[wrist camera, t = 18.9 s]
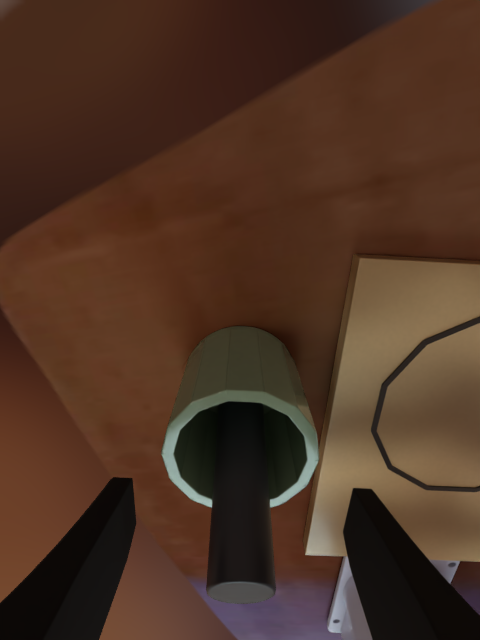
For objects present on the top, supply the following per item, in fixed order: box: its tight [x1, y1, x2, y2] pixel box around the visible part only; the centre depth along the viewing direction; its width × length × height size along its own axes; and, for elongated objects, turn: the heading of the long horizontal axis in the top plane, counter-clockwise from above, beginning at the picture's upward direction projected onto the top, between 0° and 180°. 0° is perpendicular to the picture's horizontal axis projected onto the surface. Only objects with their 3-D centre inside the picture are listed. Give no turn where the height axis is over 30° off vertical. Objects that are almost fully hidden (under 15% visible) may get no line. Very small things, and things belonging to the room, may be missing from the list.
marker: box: [206, 401, 276, 604], centre depth 14 cm, size 2×2×9 cm
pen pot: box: [161, 326, 320, 508], centre depth 16 cm, size 6×6×6 cm
